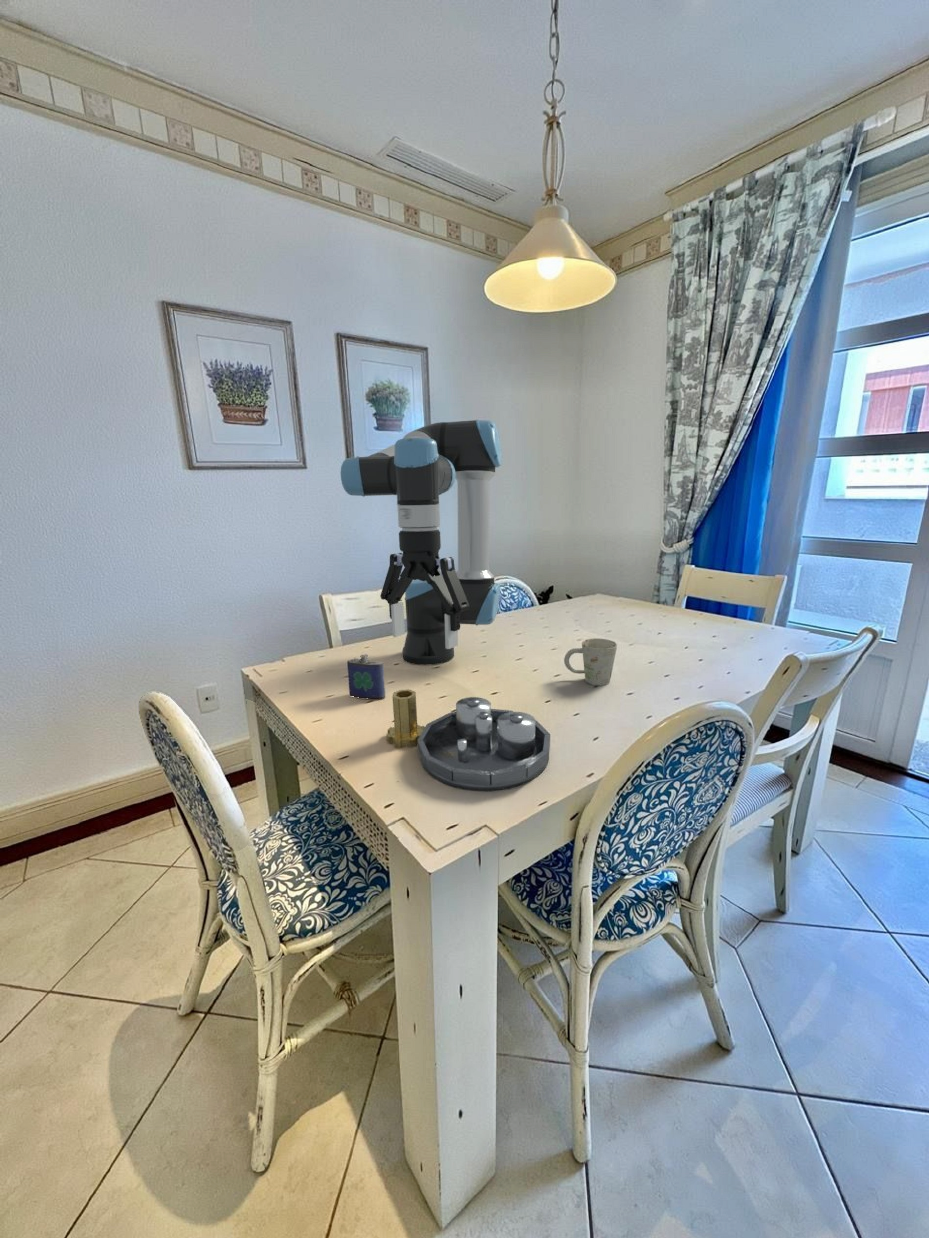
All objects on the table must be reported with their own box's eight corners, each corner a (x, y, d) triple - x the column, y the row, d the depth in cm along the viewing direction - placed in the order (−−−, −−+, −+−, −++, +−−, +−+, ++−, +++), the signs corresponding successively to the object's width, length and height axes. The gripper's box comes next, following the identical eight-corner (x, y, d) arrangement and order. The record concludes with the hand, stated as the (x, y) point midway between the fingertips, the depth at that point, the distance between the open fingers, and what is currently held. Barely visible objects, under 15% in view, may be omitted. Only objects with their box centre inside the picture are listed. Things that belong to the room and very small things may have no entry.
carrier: (393, 756, 91) (390, 717, 89) (477, 712, 108) (477, 678, 106) (493, 810, 76) (493, 764, 74) (573, 748, 93) (575, 709, 91)
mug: (616, 688, 119) (618, 649, 117) (563, 685, 122) (564, 647, 119) (613, 675, 127) (615, 638, 124) (563, 673, 130) (564, 637, 127)
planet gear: (379, 739, 98) (376, 695, 95) (408, 725, 103) (405, 683, 101) (404, 752, 93) (402, 706, 90) (433, 736, 98) (432, 693, 96)
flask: (387, 696, 118) (384, 653, 115) (382, 701, 115) (378, 658, 113) (352, 692, 121) (348, 651, 118) (346, 697, 118) (342, 655, 115)
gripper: (357, 528, 94) (365, 635, 99) (461, 533, 79) (463, 658, 84) (386, 525, 99) (392, 626, 105) (487, 529, 85) (488, 647, 90)
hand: (424, 641), depth 94 cm, fingers open, 13 cm apart
